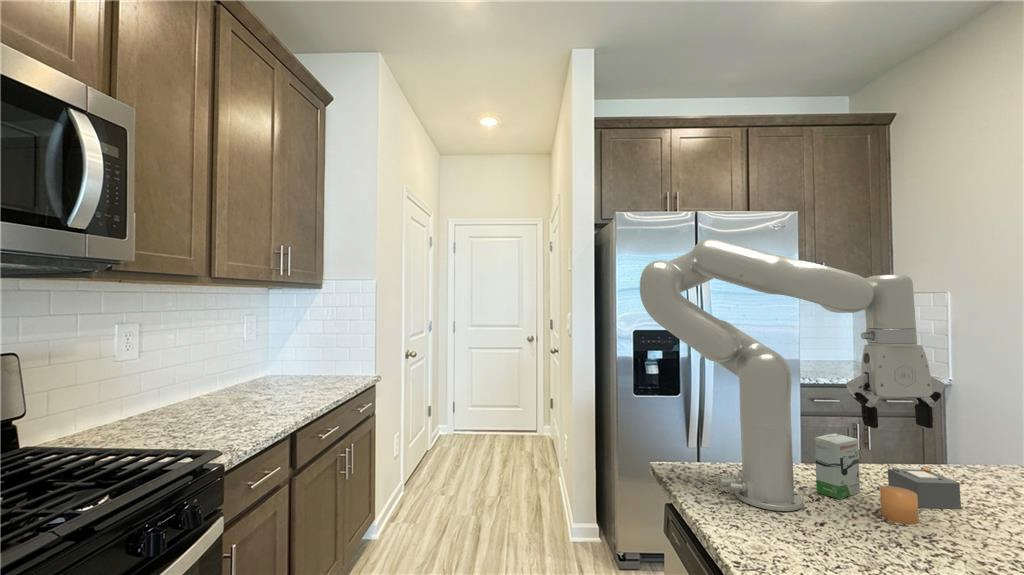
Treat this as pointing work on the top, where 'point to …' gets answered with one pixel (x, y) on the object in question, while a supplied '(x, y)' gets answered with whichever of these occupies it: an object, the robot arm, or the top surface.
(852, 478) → the ink box
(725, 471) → the top surface
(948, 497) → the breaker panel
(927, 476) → the button
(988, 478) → the top surface
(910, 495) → the cap
